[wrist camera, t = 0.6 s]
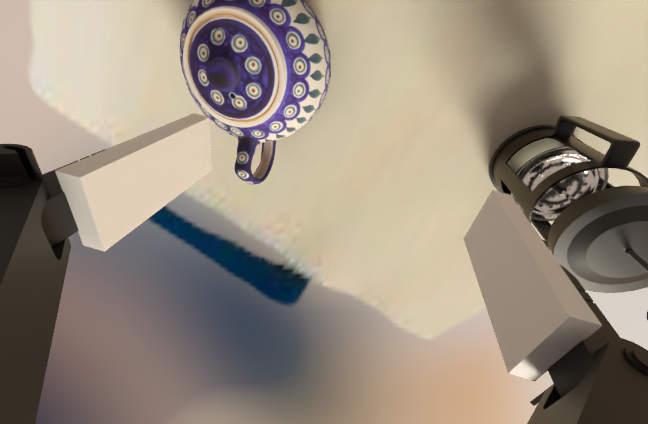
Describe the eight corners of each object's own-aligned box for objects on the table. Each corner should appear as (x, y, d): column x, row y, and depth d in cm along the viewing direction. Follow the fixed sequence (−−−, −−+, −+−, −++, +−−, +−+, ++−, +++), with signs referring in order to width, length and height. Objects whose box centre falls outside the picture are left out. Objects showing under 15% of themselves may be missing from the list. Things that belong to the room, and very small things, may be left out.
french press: (554, 206, 37) (729, 388, 18) (477, 197, 39) (562, 356, 19) (604, 113, 31) (952, 235, 12) (510, 106, 32) (681, 205, 13)
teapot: (324, 168, 41) (295, 224, 29) (226, 148, 43) (158, 193, 30) (357, -71, 28) (328, -157, 15) (212, -87, 29) (79, -178, 17)
